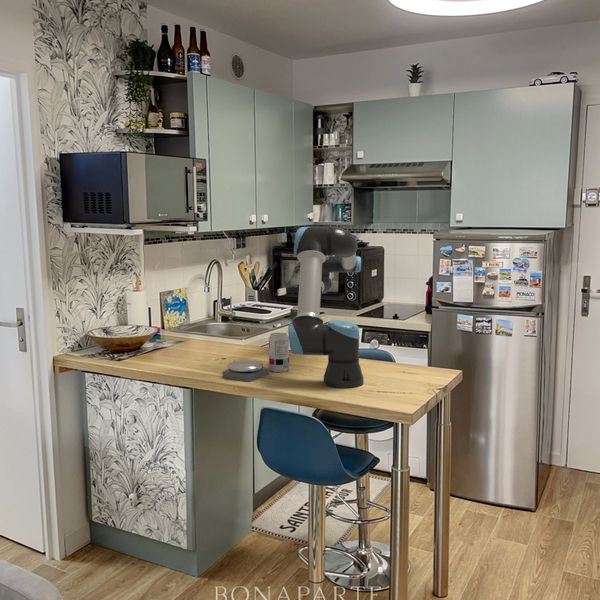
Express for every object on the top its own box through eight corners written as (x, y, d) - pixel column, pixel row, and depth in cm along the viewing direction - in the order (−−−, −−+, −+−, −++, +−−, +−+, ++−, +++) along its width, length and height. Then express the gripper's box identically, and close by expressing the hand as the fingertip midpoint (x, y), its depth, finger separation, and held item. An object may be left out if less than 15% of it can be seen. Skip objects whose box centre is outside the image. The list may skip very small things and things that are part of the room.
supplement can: (265, 371, 259) (265, 335, 257) (274, 367, 266) (273, 331, 264) (284, 373, 256) (283, 336, 254) (292, 368, 263) (291, 333, 261)
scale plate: (270, 372, 255) (270, 362, 254) (250, 380, 243) (250, 370, 242) (241, 368, 262) (241, 359, 261) (220, 375, 250) (220, 366, 249)
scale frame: (268, 374, 254) (268, 367, 254) (250, 381, 243) (250, 375, 243) (242, 370, 261) (241, 364, 261) (222, 377, 250) (222, 371, 249)
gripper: (338, 297, 284) (319, 303, 265) (288, 294, 295) (266, 300, 276) (338, 280, 283) (319, 285, 264) (288, 278, 294) (266, 283, 275)
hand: (292, 293), depth 270 cm, fingers open, 13 cm apart
